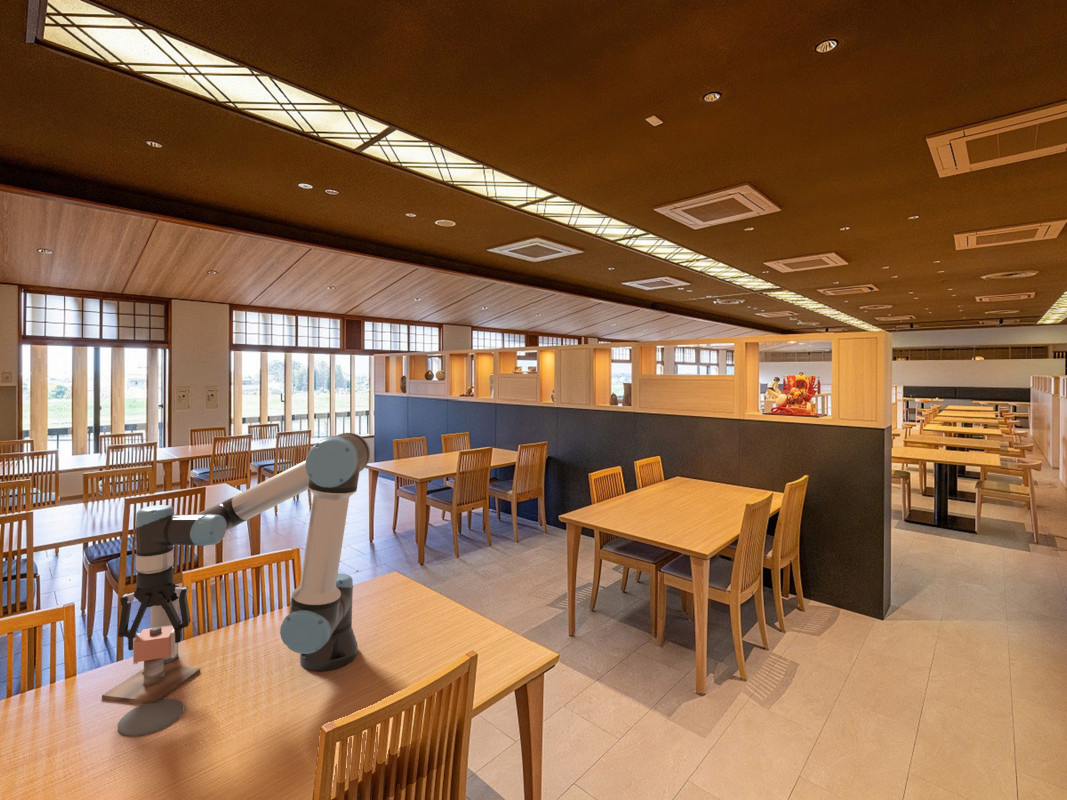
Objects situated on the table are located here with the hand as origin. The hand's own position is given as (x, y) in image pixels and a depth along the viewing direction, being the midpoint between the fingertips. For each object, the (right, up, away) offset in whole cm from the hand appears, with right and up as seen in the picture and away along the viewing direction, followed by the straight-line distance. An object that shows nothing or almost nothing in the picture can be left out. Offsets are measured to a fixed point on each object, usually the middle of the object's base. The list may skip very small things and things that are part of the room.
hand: (155, 658), depth 127 cm
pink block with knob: (0, +1, 0) cm, 1 cm away
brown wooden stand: (-1, -7, 0) cm, 7 cm away
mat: (+8, -8, -12) cm, 16 cm away
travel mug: (-6, -7, +12) cm, 15 cm away
